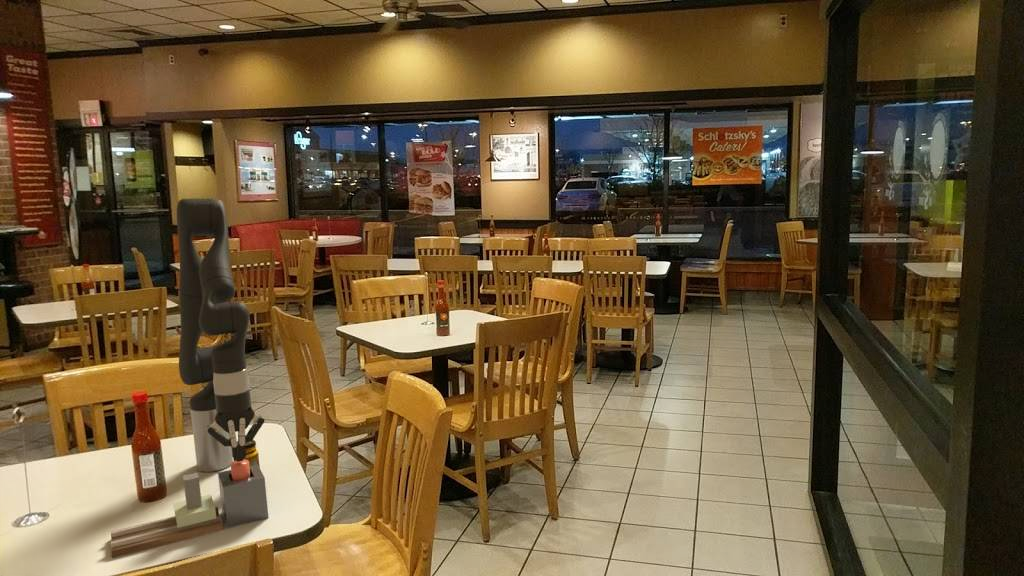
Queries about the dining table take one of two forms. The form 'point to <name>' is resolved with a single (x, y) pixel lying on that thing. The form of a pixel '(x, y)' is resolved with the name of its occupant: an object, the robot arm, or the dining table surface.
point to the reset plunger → (240, 470)
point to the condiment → (251, 453)
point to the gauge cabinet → (243, 497)
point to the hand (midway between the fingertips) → (239, 460)
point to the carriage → (194, 504)
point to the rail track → (158, 534)
